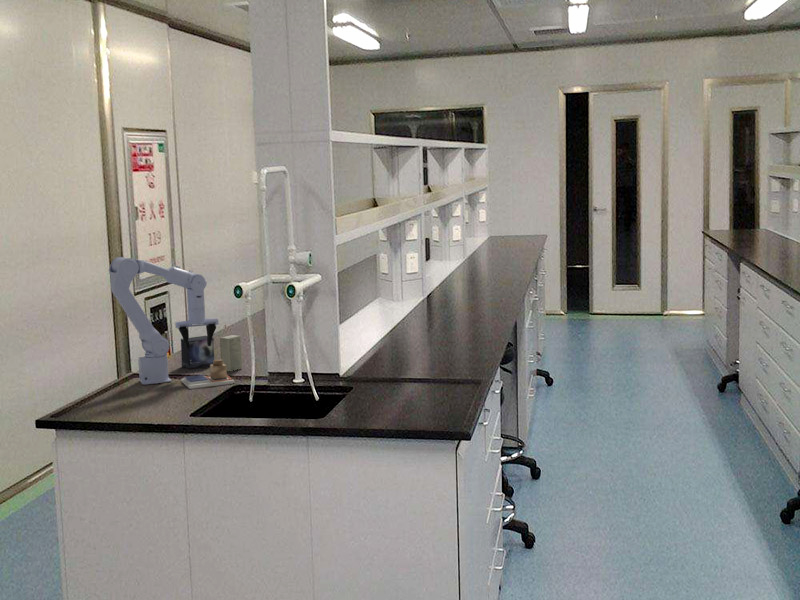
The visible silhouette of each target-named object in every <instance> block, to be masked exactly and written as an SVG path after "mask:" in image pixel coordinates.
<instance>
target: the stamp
mask: <svg viewBox="0 0 800 600" xmlns="http://www.w3.org/2000/svg"><path fill="white" fill-rule="evenodd" d="M209 368H210V369H209V370H210V371H209V373H210V375H211V379H213V380H222V379H227V375H228V373H227V372H228V371H227V370H226V365H225V364H223V360H221V358H220V359H218V358H217V359H214V360H213V364H211V365H210V366H209Z"/></svg>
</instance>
